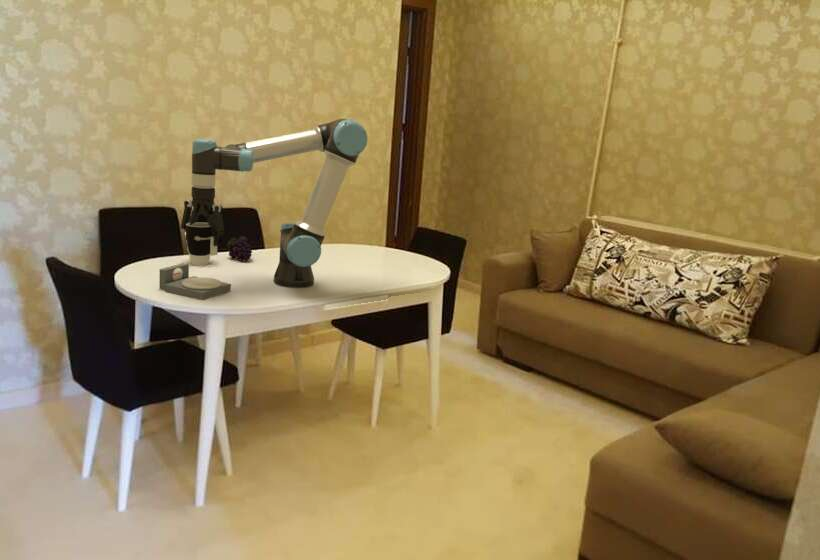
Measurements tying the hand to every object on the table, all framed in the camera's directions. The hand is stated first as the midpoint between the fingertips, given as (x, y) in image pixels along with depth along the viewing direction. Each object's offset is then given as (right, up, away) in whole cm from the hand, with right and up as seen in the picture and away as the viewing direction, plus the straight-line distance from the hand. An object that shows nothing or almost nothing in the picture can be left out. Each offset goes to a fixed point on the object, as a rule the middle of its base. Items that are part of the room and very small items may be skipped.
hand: (202, 252), depth 224 cm
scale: (-4, -13, +4) cm, 14 cm away
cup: (-14, -3, +41) cm, 44 cm away
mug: (+1, -1, 0) cm, 1 cm away
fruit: (-1, -1, +55) cm, 55 cm away
